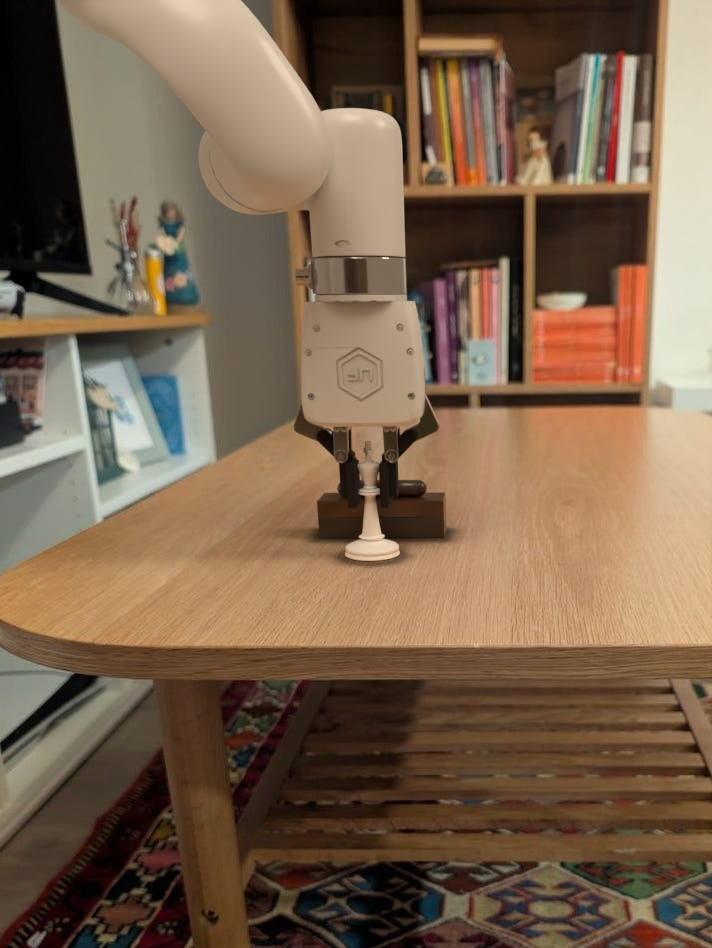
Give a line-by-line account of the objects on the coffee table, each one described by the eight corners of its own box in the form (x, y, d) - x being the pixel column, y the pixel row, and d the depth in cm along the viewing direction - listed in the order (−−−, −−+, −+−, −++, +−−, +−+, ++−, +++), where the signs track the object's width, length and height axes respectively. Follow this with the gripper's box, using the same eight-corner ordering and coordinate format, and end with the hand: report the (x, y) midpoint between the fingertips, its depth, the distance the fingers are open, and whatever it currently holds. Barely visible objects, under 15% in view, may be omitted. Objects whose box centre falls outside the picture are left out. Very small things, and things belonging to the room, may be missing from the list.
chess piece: (392, 545, 88) (388, 436, 84) (406, 558, 83) (403, 443, 80) (339, 550, 86) (333, 439, 83) (351, 563, 82) (345, 446, 78)
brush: (319, 538, 91) (315, 484, 89) (326, 528, 94) (322, 476, 93) (444, 537, 90) (443, 483, 89) (446, 528, 94) (445, 476, 92)
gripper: (251, 283, 74) (270, 515, 80) (456, 281, 73) (459, 515, 80) (273, 284, 81) (289, 497, 87) (460, 283, 80) (462, 497, 87)
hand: (370, 504), depth 83 cm, fingers closed on chess piece, 2 cm apart
